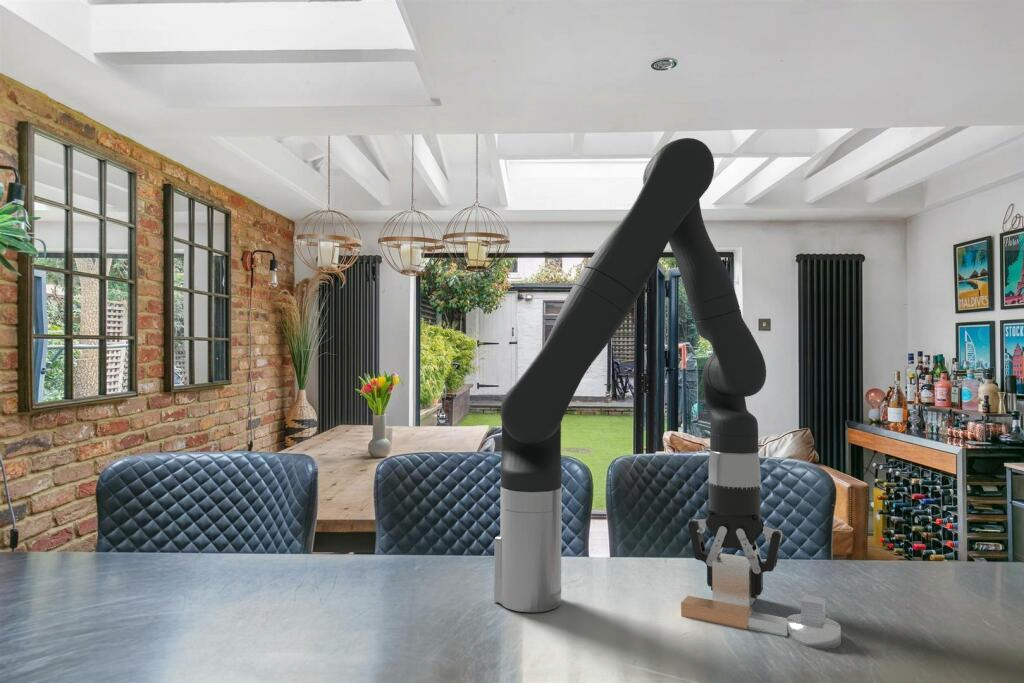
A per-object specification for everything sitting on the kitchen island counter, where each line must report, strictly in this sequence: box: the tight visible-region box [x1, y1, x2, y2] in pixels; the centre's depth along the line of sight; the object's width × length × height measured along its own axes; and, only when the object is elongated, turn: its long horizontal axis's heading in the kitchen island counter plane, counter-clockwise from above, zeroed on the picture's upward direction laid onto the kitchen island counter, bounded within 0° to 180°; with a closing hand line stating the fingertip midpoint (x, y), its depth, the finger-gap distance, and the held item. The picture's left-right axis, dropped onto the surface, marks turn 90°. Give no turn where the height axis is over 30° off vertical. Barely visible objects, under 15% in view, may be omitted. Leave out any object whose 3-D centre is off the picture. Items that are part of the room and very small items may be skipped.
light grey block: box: [711, 552, 757, 608], centre depth 100 cm, size 5×5×6 cm
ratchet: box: [680, 594, 842, 650], centre depth 90 cm, size 20×6×5 cm, turn 59°
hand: (734, 592), depth 100 cm, fingers closed on light grey block, 5 cm apart
